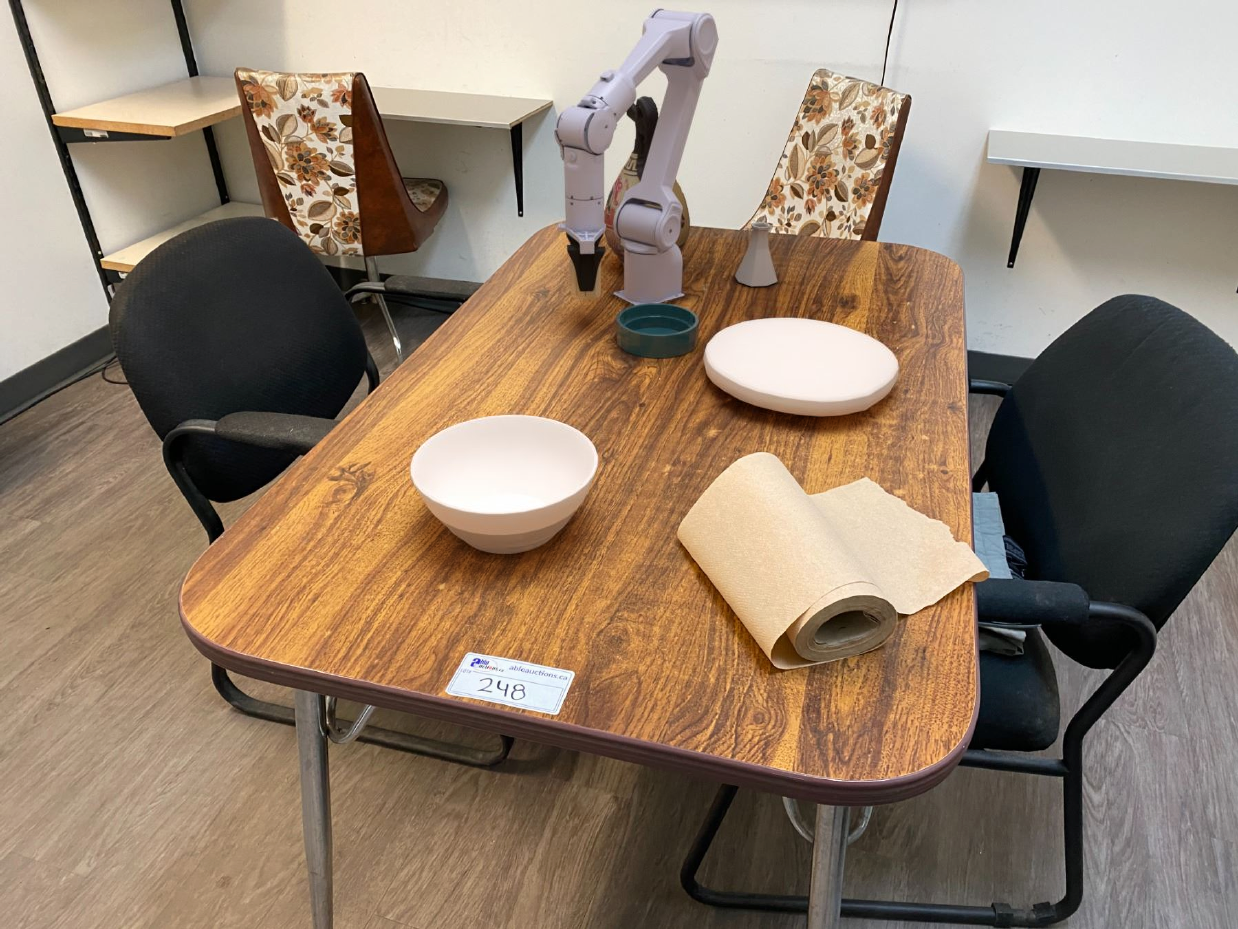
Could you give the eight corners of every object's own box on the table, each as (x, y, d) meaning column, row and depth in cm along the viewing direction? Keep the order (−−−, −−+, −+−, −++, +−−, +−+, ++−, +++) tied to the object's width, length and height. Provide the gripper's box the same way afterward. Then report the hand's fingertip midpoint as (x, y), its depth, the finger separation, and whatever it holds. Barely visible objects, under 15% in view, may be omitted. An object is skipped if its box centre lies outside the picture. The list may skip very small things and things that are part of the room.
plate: (716, 304, 140) (895, 319, 135) (713, 344, 142) (888, 361, 138) (693, 365, 115) (911, 387, 111) (689, 412, 118) (902, 436, 113)
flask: (727, 276, 163) (731, 221, 158) (762, 270, 165) (767, 215, 160) (749, 290, 157) (754, 233, 152) (784, 284, 160) (790, 227, 155)
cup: (589, 285, 143) (588, 252, 141) (607, 295, 140) (607, 261, 137) (564, 292, 141) (563, 258, 138) (582, 302, 138) (581, 267, 135)
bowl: (509, 457, 111) (505, 397, 106) (635, 517, 100) (636, 453, 96) (380, 531, 98) (370, 466, 94) (509, 608, 88) (503, 539, 83)
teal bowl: (662, 321, 146) (663, 296, 143) (713, 348, 138) (715, 322, 135) (600, 340, 140) (600, 315, 137) (650, 369, 131) (651, 342, 129)
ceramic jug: (597, 255, 172) (595, 85, 156) (676, 250, 174) (683, 82, 158) (612, 288, 158) (613, 105, 142) (699, 282, 160) (709, 102, 144)
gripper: (556, 181, 138) (559, 267, 146) (557, 210, 126) (560, 302, 133) (602, 180, 139) (603, 266, 146) (608, 209, 127) (608, 301, 134)
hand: (585, 283), depth 140 cm, fingers closed on cup, 5 cm apart
